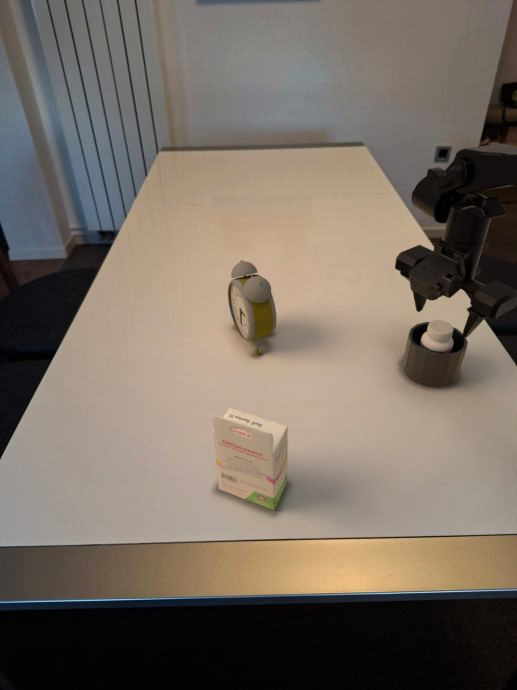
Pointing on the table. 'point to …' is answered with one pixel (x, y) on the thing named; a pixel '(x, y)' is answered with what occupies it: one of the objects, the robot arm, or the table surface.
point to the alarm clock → (251, 304)
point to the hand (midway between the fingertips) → (441, 323)
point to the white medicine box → (251, 457)
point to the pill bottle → (438, 337)
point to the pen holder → (432, 359)
